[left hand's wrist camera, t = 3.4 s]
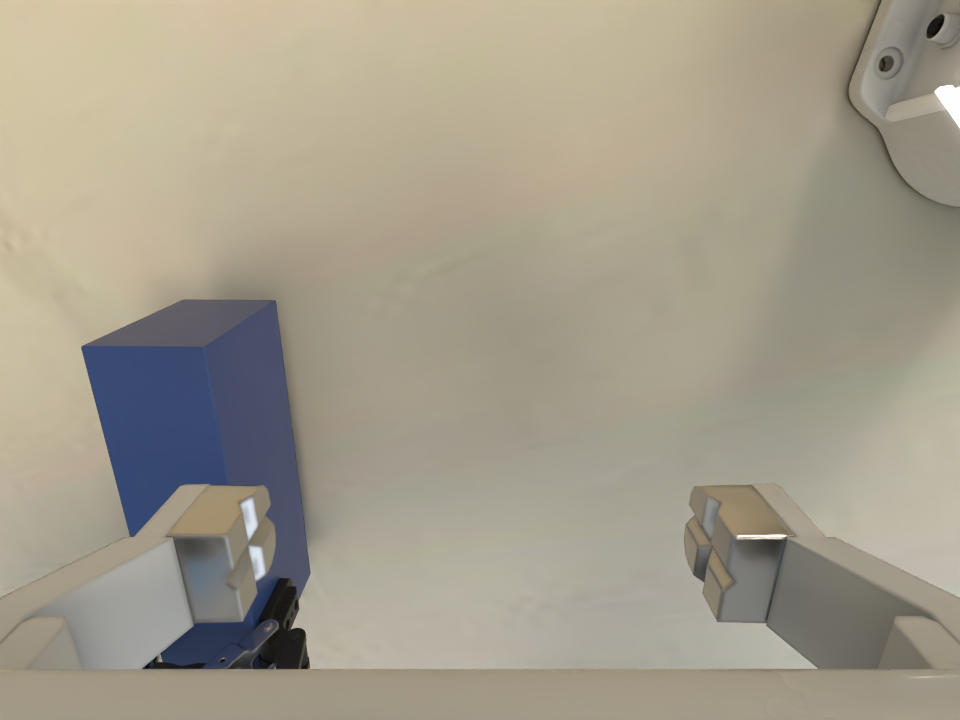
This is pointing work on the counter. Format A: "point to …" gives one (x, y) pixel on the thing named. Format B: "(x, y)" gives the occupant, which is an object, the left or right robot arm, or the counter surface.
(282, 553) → the box
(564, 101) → the counter surface
